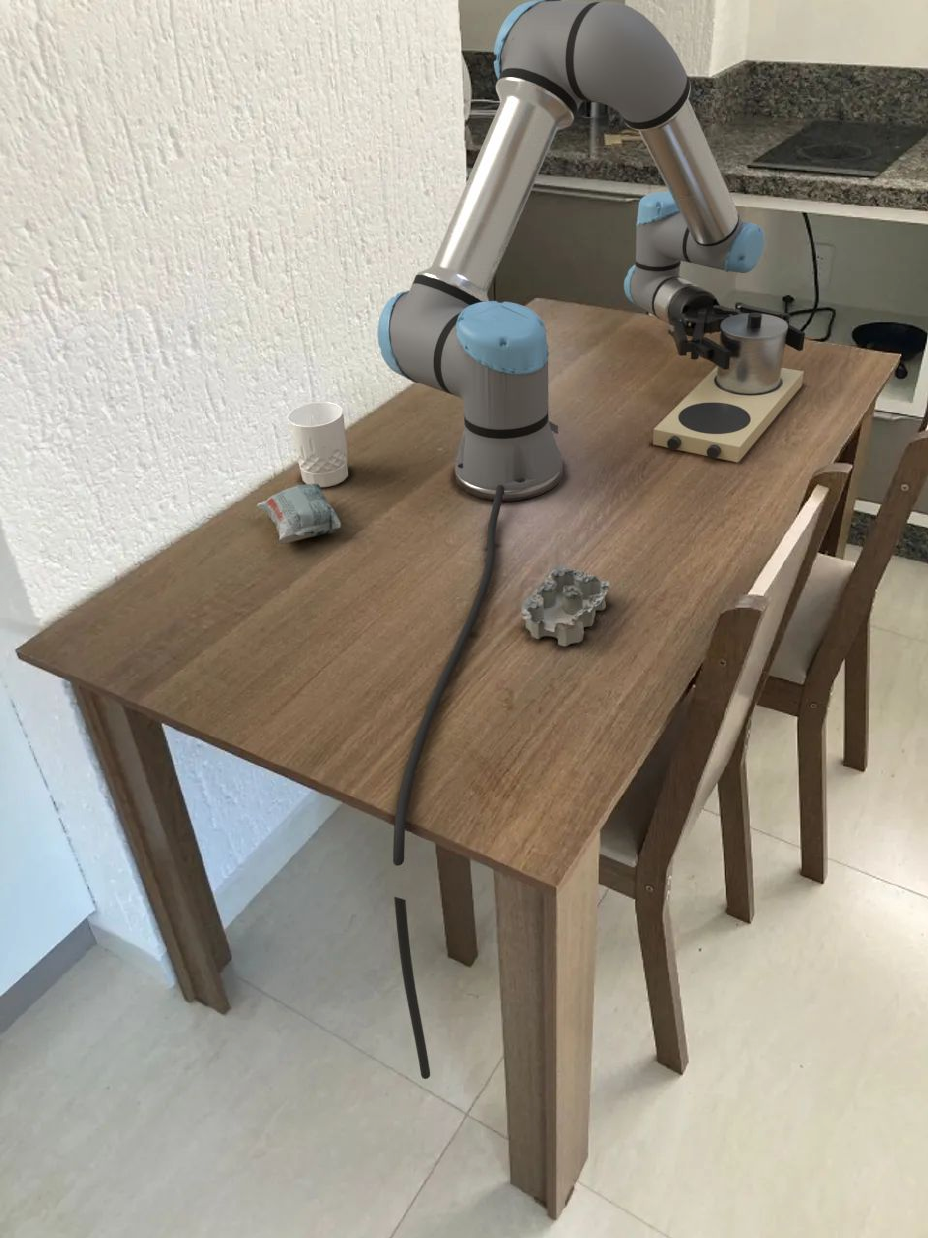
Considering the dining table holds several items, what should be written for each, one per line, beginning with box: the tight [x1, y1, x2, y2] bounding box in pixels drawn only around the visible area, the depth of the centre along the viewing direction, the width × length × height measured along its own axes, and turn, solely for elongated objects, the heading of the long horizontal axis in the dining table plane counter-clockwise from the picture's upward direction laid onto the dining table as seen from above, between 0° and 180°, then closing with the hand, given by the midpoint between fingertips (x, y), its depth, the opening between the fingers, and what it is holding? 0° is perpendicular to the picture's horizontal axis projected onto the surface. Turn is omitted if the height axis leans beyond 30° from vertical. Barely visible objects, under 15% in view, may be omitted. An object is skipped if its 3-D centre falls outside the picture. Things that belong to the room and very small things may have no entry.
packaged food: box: [256, 483, 342, 545], centre depth 136 cm, size 9×12×5 cm
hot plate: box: [652, 365, 805, 464], centre depth 154 cm, size 29×13×2 cm, turn 147°
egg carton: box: [521, 562, 611, 647], centre depth 116 cm, size 11×8×4 cm
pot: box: [717, 313, 788, 394], centre depth 155 cm, size 10×10×11 cm
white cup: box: [286, 401, 349, 488], centre depth 145 cm, size 8×8×10 cm
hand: (765, 351), depth 152 cm, fingers open, 12 cm apart
